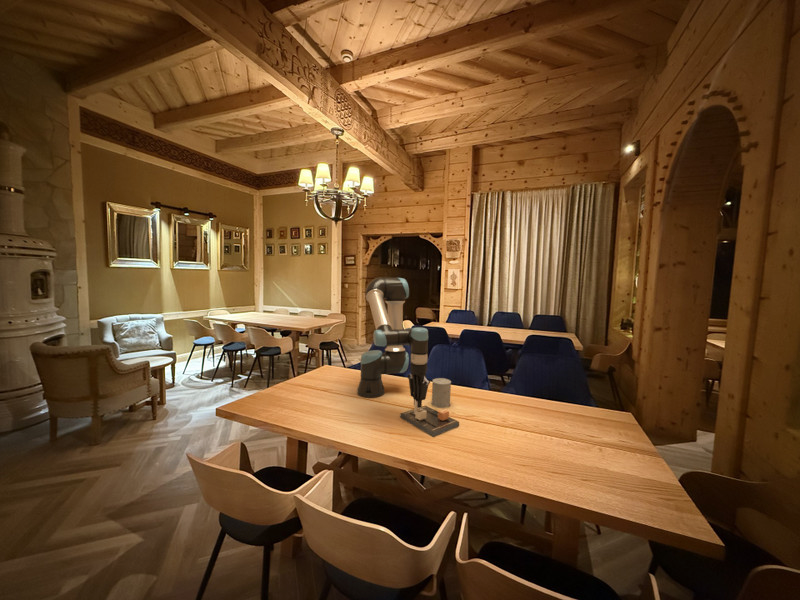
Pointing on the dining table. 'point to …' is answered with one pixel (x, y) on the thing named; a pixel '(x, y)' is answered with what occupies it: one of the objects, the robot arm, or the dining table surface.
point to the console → (430, 422)
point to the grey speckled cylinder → (441, 392)
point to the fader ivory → (421, 414)
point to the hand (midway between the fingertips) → (417, 413)
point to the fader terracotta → (443, 414)
